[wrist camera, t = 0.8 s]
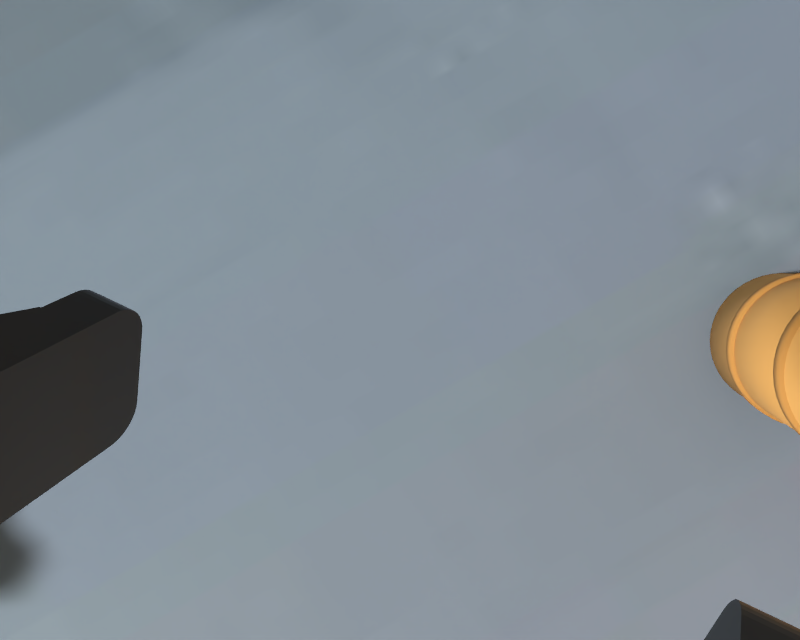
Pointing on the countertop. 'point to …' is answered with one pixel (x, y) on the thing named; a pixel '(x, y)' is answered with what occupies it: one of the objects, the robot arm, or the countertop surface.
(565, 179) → the countertop surface
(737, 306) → the ringed domed cylinder
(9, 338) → the robot arm
